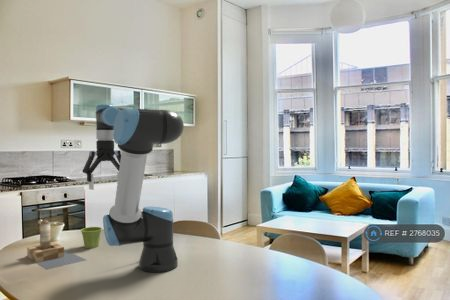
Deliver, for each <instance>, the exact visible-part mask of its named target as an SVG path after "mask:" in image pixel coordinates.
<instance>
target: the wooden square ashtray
mask: <svg viewBox="0 0 450 300" xmlns="http://www.w3.org/2000/svg"><path fill="white" fill-rule="evenodd" d="M64 250H65V246H63V245H60V244H58V243H56V242H54V241H53V242H51V248H49V249H44V250H40V244H39V245H32V246H28V247H26V252H27V255H26V256H27V257H29V258H30V259H32V260H34V261H35V262H42V261H46V260H51V259H55V258H60V257H64ZM27 257H26V258H27ZM30 259H29V260H30ZM32 260H31V261H32ZM35 262H34V263H35Z"/></svg>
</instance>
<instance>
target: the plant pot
mask: <svg viewBox="0 0 450 300" xmlns="http://www.w3.org/2000/svg"><path fill="white" fill-rule="evenodd" d="M102 231H103V228H102V227H100V226H89V227H84V228H81V229H80V233H81V235H82V238H83V245H84V248H85V249H96V248H98V247H100V240H101V239H100V238H101V233H102Z"/></svg>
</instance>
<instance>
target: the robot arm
mask: <svg viewBox="0 0 450 300" xmlns="http://www.w3.org/2000/svg"><path fill="white" fill-rule="evenodd" d="M95 108H96V109H95V110H96V111H95V126H96V127H95V128H96V129H95V130H96V132H95V133H96V134H95V135H96V136H95V137H96V142H95V144H96V150H95V151H94V150H90V151H89V155H88V157H87V160H86V162H85V164H84V167H83V168H82V173H83V174H86V181H87V182H88V189H89V190H90V191H91V190H92V191H93V190H94V186H95V185H94V174H93V172H94V171H95V170H96V168H97V167H98V166H99V164H100V163H101V162H110V163H112V165H113V166H114V168H115V169H116V170H117V172H116V174H117V175H116V180H117V181H116V190H115V191H116V192H115V200H114V205H112V206H111V207H110V209H109V212H108V214H105V215H104V216H103V217H102V226H103V232H104V236H105V240H106V243H107V244H108V246H109V247H110V246H111V247H118V246H119V247H120V246H123V245H126V246H127V245H131V244H137V243H138V244H139V243H143V244H142V245H143V247H142V251H141V254H140V256H139V257H140V258H139V260H138V268H139V270H141V271H144V272H148V273H149V272H150V273H162V272H167V271H171V270H174V269H175V268H176V269H177V267H178V265H179V260H178V257H177V254H176V250H175V246H174V215H173V211H172V210H171V209H169V208H168V207H167V208H166V207H160V206H144V207H143V208H142V210H141V208H140V201H141V196H142V189H143V182H144V176H145V170H146V165H147V158H148V155H150V154H151V153H152V152H153V149H154V145H162V144H163V145H164V144H169V143H173V142H175V141H177V140H178V139H179V138H180V137H181V136H182V134H183V132H184V129H185V128H184V121H183V119H182V117H181V116H180V115H179V114H178V113H176V112H175V111H171V110H168V109H150V108H149V109H148V108H136V107H133V108H128V107H127V108H124V107H115V106H114V105H112V104H104V103H103V104H98V105H96V106H95ZM115 145H117V148H118V149H119V150H115ZM95 156H97V157H96V158H95ZM114 156H115V157H114ZM116 159H117V160H116ZM93 161H94V162H93Z"/></svg>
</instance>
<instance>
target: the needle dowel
mask: <svg viewBox="0 0 450 300" xmlns="http://www.w3.org/2000/svg"><path fill="white" fill-rule="evenodd" d="M51 240H52V239H51V223H50V221H49V220H47V219H43V220H41V222H40V224H39V245H40V250H44V249H49V248H51V243H52V242H51Z"/></svg>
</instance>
